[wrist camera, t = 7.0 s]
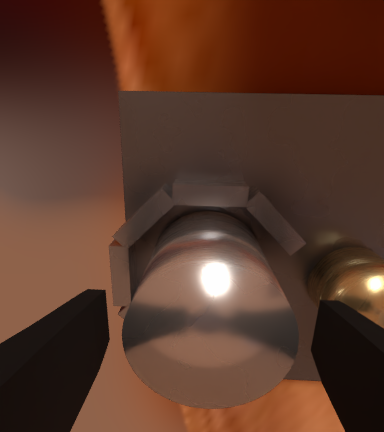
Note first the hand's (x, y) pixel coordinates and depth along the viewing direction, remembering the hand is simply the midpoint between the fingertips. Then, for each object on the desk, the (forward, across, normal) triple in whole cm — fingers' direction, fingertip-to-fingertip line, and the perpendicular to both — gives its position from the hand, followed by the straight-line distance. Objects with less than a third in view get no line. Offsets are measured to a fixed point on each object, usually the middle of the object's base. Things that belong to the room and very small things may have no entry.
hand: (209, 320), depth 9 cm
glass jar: (+4, 0, 0) cm, 4 cm away
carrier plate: (+5, -3, -1) cm, 5 cm away
